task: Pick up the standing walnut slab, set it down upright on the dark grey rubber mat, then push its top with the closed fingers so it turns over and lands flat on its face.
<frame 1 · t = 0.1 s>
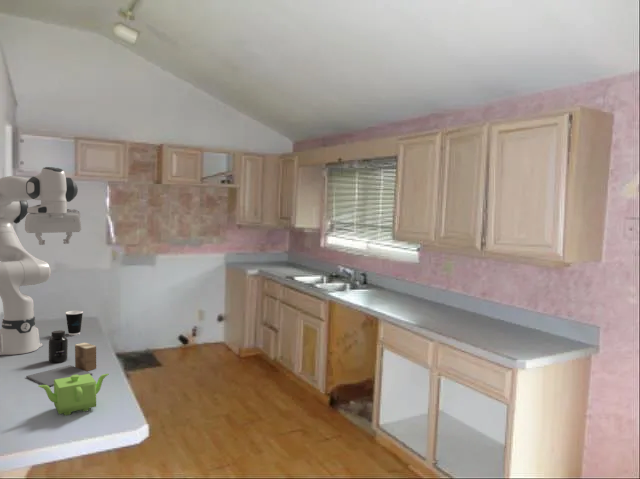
hand: (54, 244, 190), 48 cm above the countertop, fingers open, 8 cm apart
teapot: (75, 409, 151), on the countertop
dixie cup: (74, 334, 239), on the countertop
slab: (85, 367, 189), on the countertop
mat: (59, 376, 179), on the countertop
supplement bottle: (58, 361, 197), on the countertop
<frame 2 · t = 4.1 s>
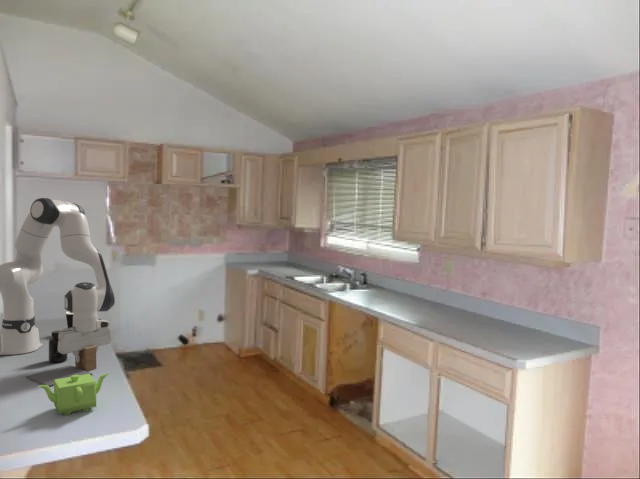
hand: (85, 359, 189), 3 cm above the countertop, fingers closed on slab, 4 cm apart
slab: (85, 367, 189), on the countertop, touching gripper
everything else where it was.
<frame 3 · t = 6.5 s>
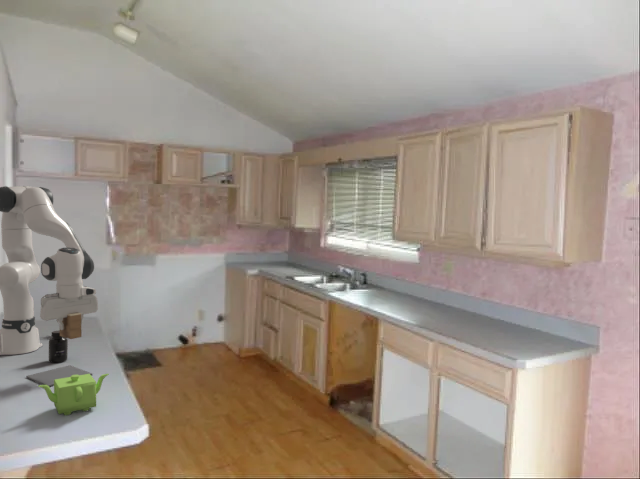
hand: (70, 328, 182), 17 cm above the countertop, fingers closed on slab, 4 cm apart
slab: (70, 336, 182), point 14 cm above the countertop, touching gripper
everything else where it was.
when the fingers open (5 cm above the countertop, at t = 8.9 s): slab drops 1 cm, resting on mat.
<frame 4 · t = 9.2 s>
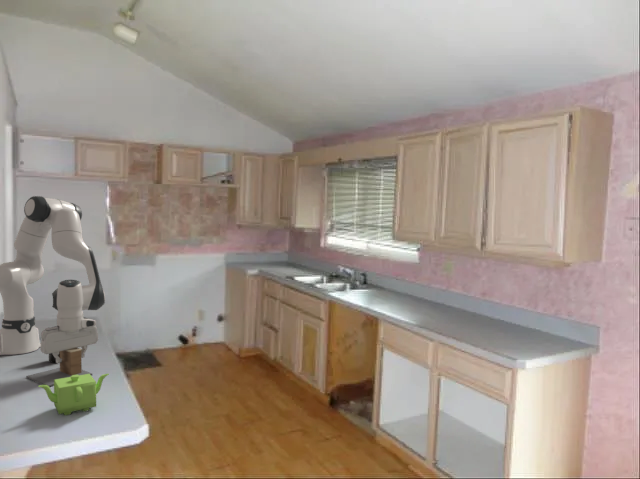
hand: (70, 360, 182), 5 cm above the countertop, fingers open, 7 cm apart
slab: (70, 371, 182), point 1 cm above the countertop, touching mat
everything else where it was.
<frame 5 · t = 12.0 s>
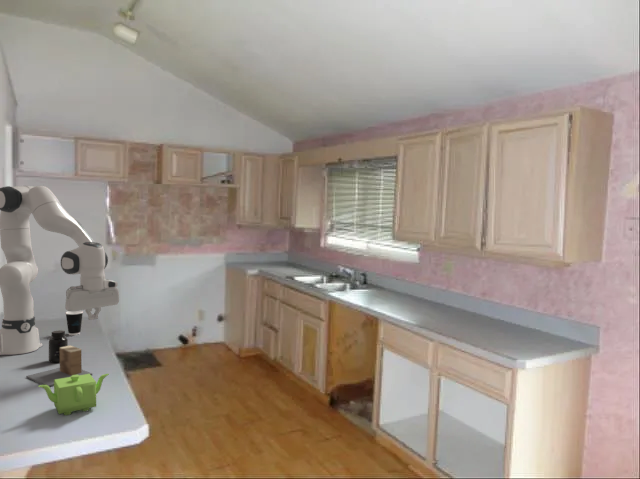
hand: (93, 319, 189), 19 cm above the countertop, fingers closed
nothing on the countertop moved.
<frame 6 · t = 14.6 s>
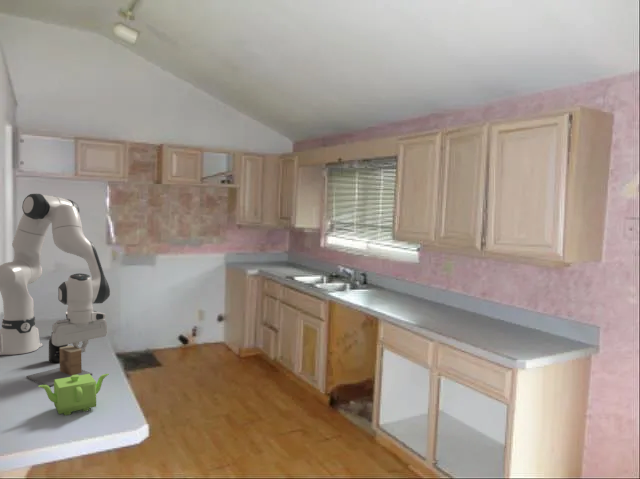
hand: (80, 352, 185), 7 cm above the countertop, fingers closed
slab: (70, 371, 182), point 1 cm above the countertop, touching gripper, mat
everything else where it was.
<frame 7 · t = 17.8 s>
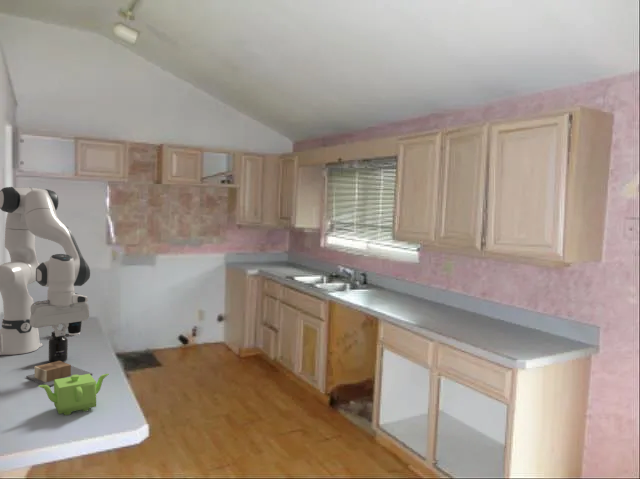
hand: (60, 335, 179), 15 cm above the countertop, fingers closed
slab: (65, 368, 181), point 3 cm above the countertop, tilted 90°, touching mat
everything else where it was.
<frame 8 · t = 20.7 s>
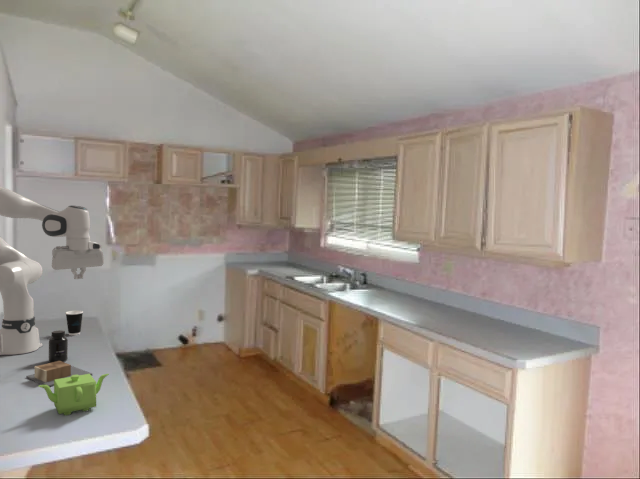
hand: (78, 278, 200), 33 cm above the countertop, fingers closed
nothing on the countertop moved.
at the end: slab tilted 90°; slab inside the target area (2.5 cm from its centre), point 2.6 cm above the countertop; the gripper is holding nothing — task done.
